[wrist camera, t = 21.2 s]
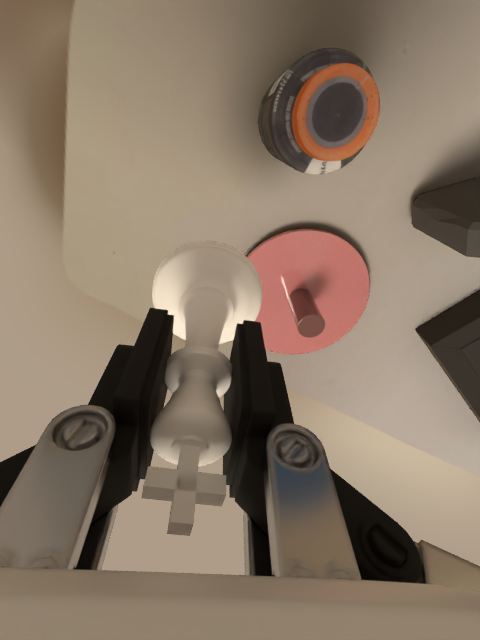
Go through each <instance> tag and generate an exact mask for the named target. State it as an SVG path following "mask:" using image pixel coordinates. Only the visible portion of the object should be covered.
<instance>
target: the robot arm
mask: <svg viewBox="0 0 480 640" xmlns="http://www.w3.org/2000/svg"><path fill="white" fill-rule="evenodd" d="M173 323H174V315H168V310H164V309H156V308H150V309H149V312H148V314H147V317H146V319H145V321H144V324H143V326H142V329H141V331H140V333H139V336H138V338H137V341H136V343H135V345H134V346H129V345H118V346H117V347H116V349H115V351H114V353H113V355H112V357H111V359H110V361H109V363H108V365H107V367H106V369H105V371H104V373H103V375H102V377H101V379H100V381H99V383H98V385H97V388H96V390H95V392H94V394H93V395H92V398H91V400H90V402H89V404H88V405H80V406H76V407H72V408H70V409H68V410H65V411H63V412H61V413H60V414H59V415H57V416H56V417H55V418H53V419H52V421H51V422H50V423H49V424H48V426H47V427H46V429H45V431H44V432H43V434H42V436H41V437H40V439H39V441H38V443H37V444H36V445H35V446H33V447H31V448H29V449H27V450H24V451H22V452H20V453H18V454H16V455H14V456H12V457H10V458H8V459H6V460H4V461H2V462H0V640H480V566H478V565H475V564H473V563H471V562H469V561H467V560H464V559H462V558H460V557H458V556H455V555H454V554H451V553H449V552H447V551H445V550H443V549H440V548H438V547H436V546H434V545H432V544H430V543H428V542H425V541H423V540H421V541H420V542H419V543H416V542H414V541H413V540H412V539H411V537H410V536H409V535H408V533H407V532H406V531H405V530H404V529H403V528H402V527H401V526H400V525H399V524H398V523H397V522H396V521H394V520H393V519H392V518H391V517H389V516H388V515H387V514H386V513H385V512H383V511H382V510H381V509H380V508H378V507H377V506H376V505H374V504H373V503H372V502H371V501H369V500H368V499H367V498H366V497H365V496H363V495H362V494H361V493H360V492H358V491H357V490H356V489H355V488H354V487H352V486H351V485H350V484H349V483H347V482H346V481H345V480H344V479H342V478H341V477H340V476H339V475H337V474H336V473H335V472H334V471H332V470H331V469H330V467H329V463H328V460H327V457H326V453H325V450H324V447H323V445H322V443H321V442H320V440H319V439H318V438H317V436H316V435H315V434H313V433H312V432H311V431H309V430H308V429H306V428H304V427H302V426H300V425H296V424H294V421H293V417H292V412H291V407H290V403H289V399H288V394H287V390H286V385H285V381H284V376H283V372H282V367H281V364H280V363H276V362H267V357H266V351H265V345H264V339H263V333H262V327H261V322H256V321H248V320H244V321H243V324H238V323H237V326H236V331H235V336H234V341H233V346H232V351H231V356H230V363H231V365H232V374H231V383H230V387H229V389H228V390H227V392H226V393H225V394H224V413H225V414H226V417H227V419H228V422H229V424H230V427H231V431H232V442H231V445H230V448H229V449H228V451H227V452H226V453H225V454H224V455H223V475H226V485H230V497H232V498H235V502H236V503H237V504H238V505H239V506H240V507H241V508H242V509H243V510H244V516H243V522H244V555H245V556H244V557H245V575H222V574H220V575H219V574H194V573H165V572H136V571H107V570H101V569H102V565H103V561H104V558H105V554H106V550H107V547H108V542H109V539H110V535H111V531H112V528H113V524H114V521H115V517H116V513H117V509H118V504H119V503H120V502H122V501H123V500H125V499H126V498H128V497H129V496H130V495H131V494H132V491H137V488H138V485H139V480H140V479H145V477H146V473H147V469H148V466H150V465H151V460H152V455H153V451H154V449H153V448H152V446H151V443H150V431H151V426H152V424H153V422H154V420H155V419H156V417H157V416H158V414H159V413H160V411H161V410H162V409H163V407H164V402H165V398H166V393H167V389H168V387H167V385H166V383H165V372H166V366H167V359H168V358H169V357H170V356H171V348H172V336H173Z"/></svg>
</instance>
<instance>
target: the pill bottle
mask: <svg viewBox="0 0 480 640" xmlns="http://www.w3.org/2000/svg"><path fill="white" fill-rule="evenodd" d="M379 111H380V99H379V92H378V89H377V86H376V84H375V82H374V79H373V77H372V75H371V73H370V71H369V69H368V68H367V66H366V65H365V64H364V63H363V62H362V60H360V59H359V58H358V57H357V56H355V55H354V54H352V53H351V52H348V51H346V50H342V49H338V48H325V49H319V50H316V51H313V52H311V53H309V54H307V55H305V56H303V57H302V58H301V59H299V60H298V61H297V62H295V63H294V64H293V65H292V66H291V67H290V68H289V69H288V70H287V71H286V72H284V73H283V74H282V75H281V76H280V77H279V78H278V79H277V80H276V81H275V82H274V83H273V84H272V85H271V86H270V88H269V89H268V91H267V92H266V94H265V96H264V98H263V100H262V102H261V105H260V110H259V117H258V125H259V133H260V136H261V139H262V142H263V144H264V145H265V147H266V148H267V150H268V151H269V152H270V153H271V154H272V155H273V156H274V157H275V158H277V159H279V160H281V161H282V162H284V163H285V164H287V165H289V166H290V167H292V168H294V169H295V170H298V171H300V172H303V173H307V174H315V175H317V174H326V173H330V172H333V171H335V170H338V169H340V168H342V167H344V166H345V165H347V164H348V163H349V162H351V161H352V160H353V159H354V158H355V157H356V156H357V155H358V153H359V152H360V151H361V150H362V149H363V147H364V146H365V144H366V143H367V141H368V140H369V139H370V137H371V135H372V133H373V131H374V129H375V127H376V125H377V122H378V117H379Z"/></svg>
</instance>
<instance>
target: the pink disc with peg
mask: <svg viewBox="0 0 480 640" xmlns="http://www.w3.org/2000/svg"><path fill="white" fill-rule="evenodd" d="M247 258H248V259H249V260H250V261H251V262H252V263H253V265H254V266H255V268H256V270H257V271H258V274H259V276H260V279H261V283H262V301H261V308H260V311H259V314H258V316H257V318H256V320H255V321H256V322H261V327H262V333H263V339H264V345H265V349H267V350H270V351H274V352H277V353H283V354H303V353H309V352H313V351H317V350H319V349H322V348H325V347H327V346H329V345H331V344H333V343H334V342H336V341H338V340H339V339H340V338H342V337H343V336H344V335H346V334H347V333H348V332H349V331H350V330H351V329H352V328H353V326H354V325H355V324H356V323H357V322H358V320H359V318H360V317H361V315H362V313H363V311H364V309H365V307H366V304H367V301H368V297H369V290H370V281H369V274H368V270H367V267H366V265H365V262H364V260H363V259H362V257H361V255H360V254H359V253H358V251H357V250H356V249H355V248H354V247H353V246H352V245H351V244H350V243H348V242H347V241H346V240H344V239H343V238H341V237H339V236H337V235H335V234H333V233H330V232H328V231H323V230H319V229H296V230H290V231H286V232H283V233H280V234H278V235H275V236H273V237H271V238H269V239H267V240H266V241H264V242H263V243H261V244H260V245H258V246H257V247H256V248H255V249H254V250H253V251H252V252H251V253H250V254H249V255H248V256H247Z"/></svg>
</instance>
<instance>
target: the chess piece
mask: <svg viewBox="0 0 480 640" xmlns="http://www.w3.org/2000/svg"><path fill="white" fill-rule="evenodd" d="M152 298H153V304H154V308H156V309H164V310H168V315H174V323H173V333H174V334H175V335H177V336H178V337H180V338H182V339H184V340H186V347H184V348H181V349H179V350H177V351H176V352H174V353H173V354H172V355H171V356H170V357H169V358H168V359H167V366H166V372H165V383H166V385H167V387H168V389H169V390H170V391H171V392H172V393H173V395H172V396H171V398H170V400H169V402H168V403H167V405H166V406H165V407H164V408H163V409H162V410H161V411H160V413H159V414H158V416H157V417H156V419H155V420H154V422H153V424H152V426H151V431H150V443H151V446H152V448H153V449H154V451H155V452H156V453H157V454H158V455H159V456H160V457H162V458H163V459H164V460H166V461H168V462H170V463H173V464H176V465H177V470H176V469H168V468H159V467H151V466H148V469H147V473H146V477H145V482H144V486H143V493H142V498H146V499H155V500H165V501H172V505H171V512H170V518H169V525H168V532H167V534H176V535H187V536H189V535H190V533H191V530H192V527H193V522H194V511H195V504H204V505H214V506H222V504H223V501H224V499H225V496H226V475H219V474H210V473H202V472H198V466H203V465H207V464H210V463H213V462H215V461H217V460H218V459H220V458H221V457H222V456H223V455H224V454H225V453H226V452H227V451H228V449H229V448H230V445H231V442H232V431H231V427H230V424H229V422H228V419H227V417H226V414H225V413H224V411H223V409H222V407H221V405H220V400H219V398H220V397H221V396H222V395H224V394H225V393H226V392H227V390H228V389H229V387H230V383H231V374H232V365H231V363H230V361H229V360H228V358H227V357H226V356H225V355H224V354H222V353H221V352H219V351H218V346H219V344H221V343H225V342H228V341H231V340H233V339H234V336H235V331H236V326H237V323H238V324H243V321H244V320H248V321H255V320H256V318H257V316H258V314H259V311H260V308H261V301H262V283H261V279H260V276H259V274H258V271H257V270H256V268H255V266H254V265H253V263H252V262H251V261H250V260H249V259H248V258H247V257H246V256H245V255H244V254H243V253H241V252H240V251H238V250H237V249H235V248H233V247H231V246H229V245H226V244H223V243H219V242H214V241H198V242H192V243H188V244H185V245H183V246H181V247H179V248H177V249H175V250H174V251H172V252H171V253H170V254H169V255H167V256H166V257H165V259H164V260H163V261H162V262H161V264H160V265H159V267H158V269H157V271H156V274H155V277H154V282H153V290H152Z"/></svg>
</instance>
